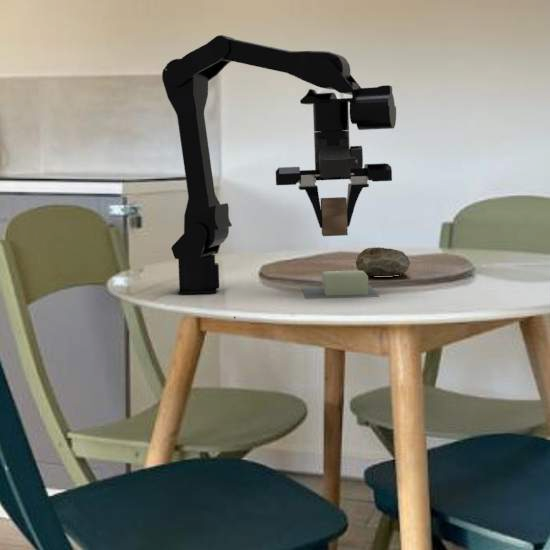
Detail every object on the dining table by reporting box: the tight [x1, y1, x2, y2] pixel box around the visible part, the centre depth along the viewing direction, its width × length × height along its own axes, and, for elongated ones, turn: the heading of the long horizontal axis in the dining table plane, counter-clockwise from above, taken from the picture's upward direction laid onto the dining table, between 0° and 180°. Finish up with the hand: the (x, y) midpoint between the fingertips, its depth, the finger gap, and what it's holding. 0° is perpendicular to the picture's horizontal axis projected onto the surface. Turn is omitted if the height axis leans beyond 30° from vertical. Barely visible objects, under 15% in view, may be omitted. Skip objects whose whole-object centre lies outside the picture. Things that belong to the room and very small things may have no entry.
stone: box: [355, 247, 411, 277], centre depth 174 cm, size 13×8×8 cm
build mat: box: [300, 284, 380, 300], centre depth 157 cm, size 12×12×1 cm
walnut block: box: [320, 196, 349, 237], centre depth 153 cm, size 4×4×6 cm
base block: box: [321, 270, 369, 295], centre depth 157 cm, size 7×7×3 cm
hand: (334, 227), depth 154 cm, fingers closed on walnut block, 4 cm apart
